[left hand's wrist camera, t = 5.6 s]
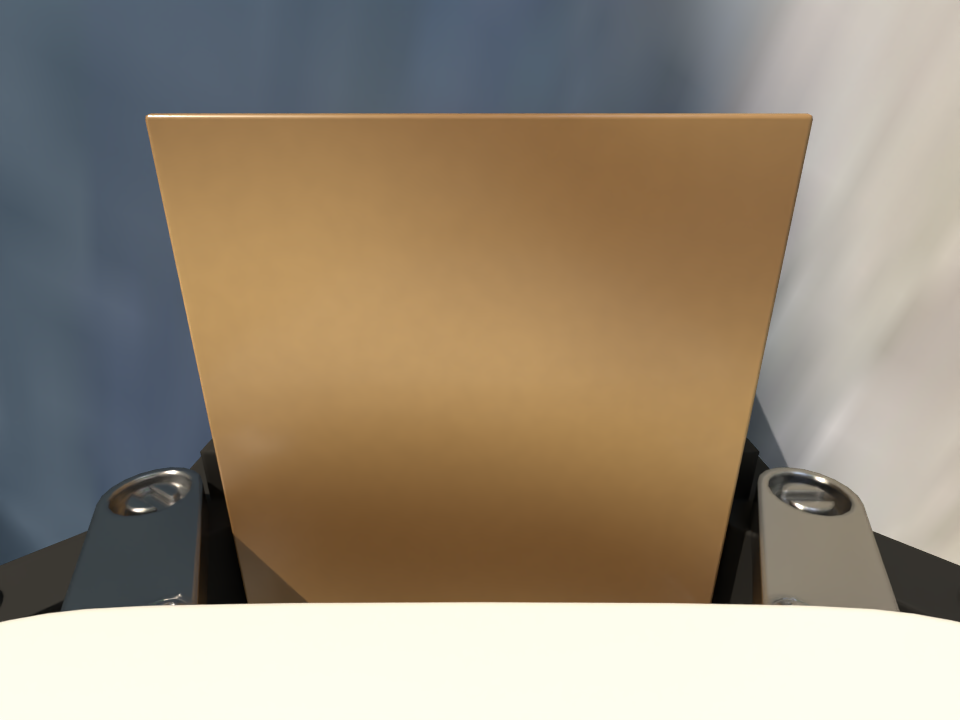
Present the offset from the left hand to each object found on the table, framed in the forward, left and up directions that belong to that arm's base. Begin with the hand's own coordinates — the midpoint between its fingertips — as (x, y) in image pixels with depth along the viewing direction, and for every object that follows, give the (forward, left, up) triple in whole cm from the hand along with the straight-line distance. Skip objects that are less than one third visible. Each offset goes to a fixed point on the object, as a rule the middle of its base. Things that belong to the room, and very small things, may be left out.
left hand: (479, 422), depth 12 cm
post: (+3, +26, -1) cm, 26 cm away
